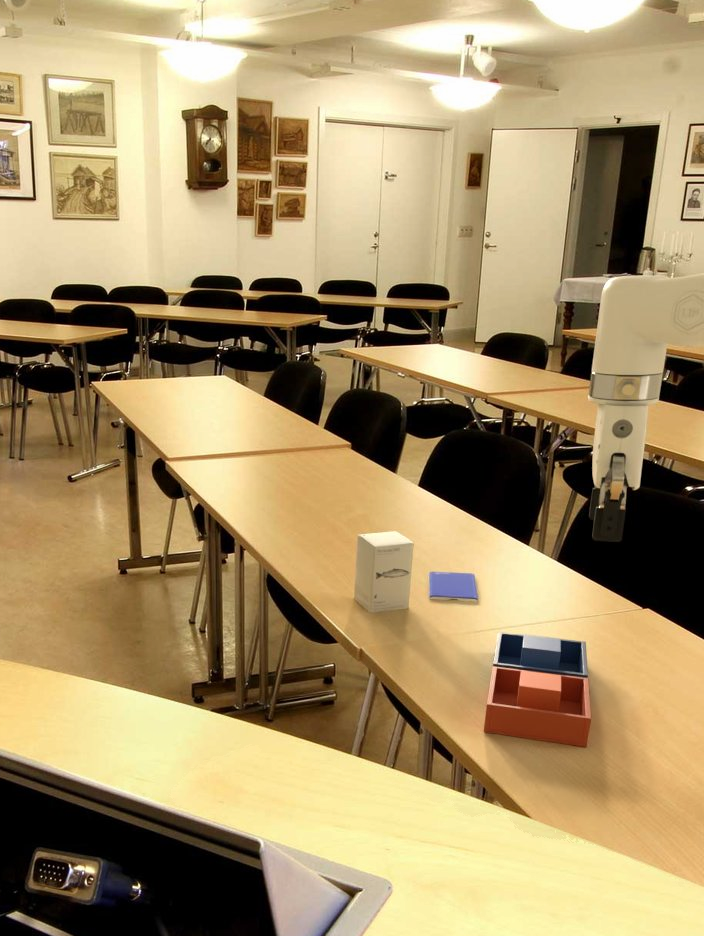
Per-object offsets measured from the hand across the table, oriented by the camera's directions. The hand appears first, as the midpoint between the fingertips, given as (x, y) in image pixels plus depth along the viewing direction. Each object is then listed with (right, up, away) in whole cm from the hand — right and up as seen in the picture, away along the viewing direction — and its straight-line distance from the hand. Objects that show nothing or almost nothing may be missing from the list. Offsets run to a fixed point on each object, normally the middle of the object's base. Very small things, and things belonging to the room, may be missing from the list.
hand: (604, 529), depth 112 cm
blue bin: (-1, -19, +19) cm, 27 cm away
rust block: (-6, -24, +7) cm, 25 cm away
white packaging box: (-17, -9, +46) cm, 50 cm away
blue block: (-1, -19, +19) cm, 27 cm away
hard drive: (-3, -6, +52) cm, 52 cm away
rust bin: (-6, -24, +8) cm, 26 cm away
